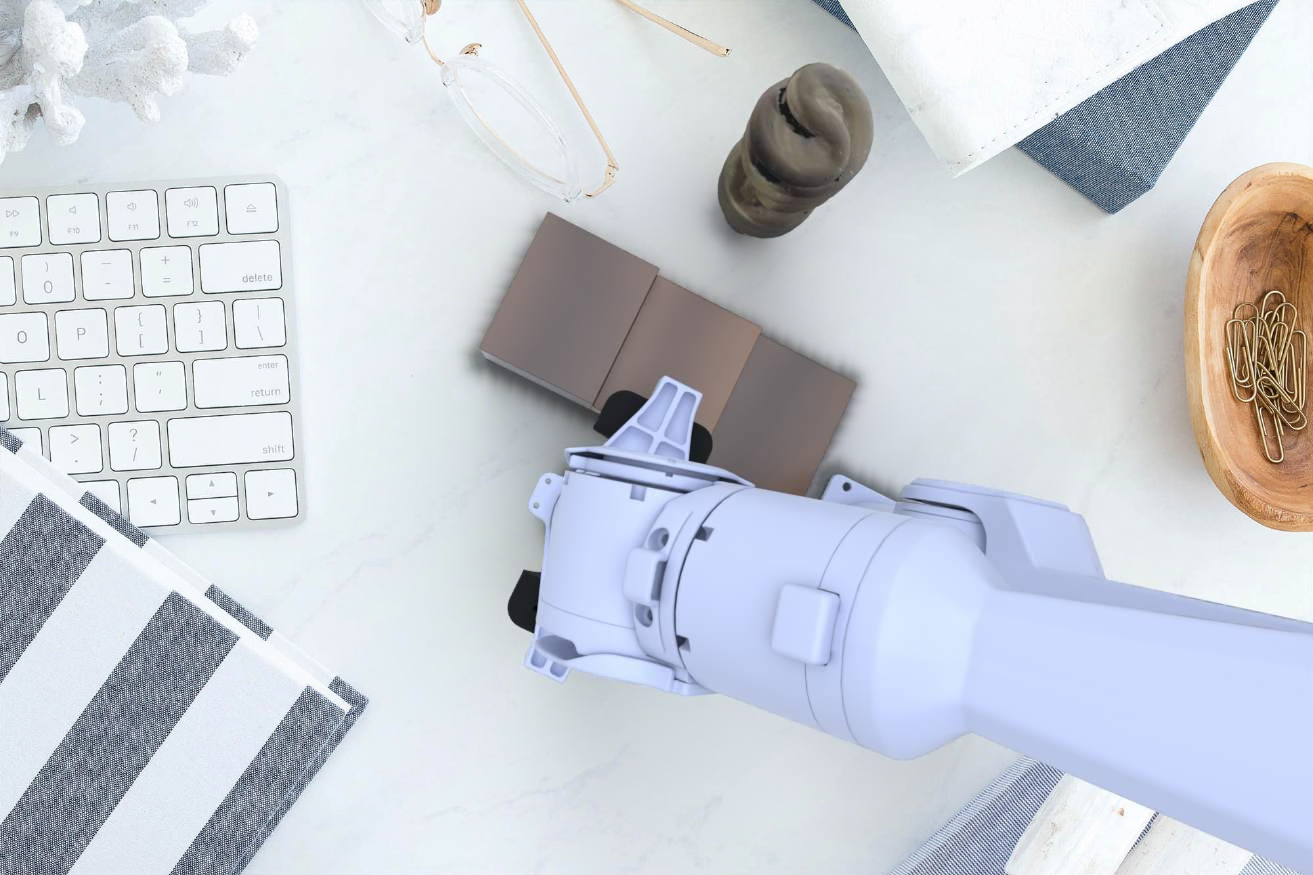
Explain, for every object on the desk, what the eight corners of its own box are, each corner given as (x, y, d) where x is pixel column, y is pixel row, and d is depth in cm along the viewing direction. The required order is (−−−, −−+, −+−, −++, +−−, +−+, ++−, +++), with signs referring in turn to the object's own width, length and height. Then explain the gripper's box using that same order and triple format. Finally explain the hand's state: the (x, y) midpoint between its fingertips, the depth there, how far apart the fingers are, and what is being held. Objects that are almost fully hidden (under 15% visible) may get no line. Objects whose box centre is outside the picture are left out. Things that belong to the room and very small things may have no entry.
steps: (849, 385, 54) (876, 378, 49) (791, 508, 53) (813, 513, 49) (548, 232, 52) (547, 210, 47) (485, 358, 51) (478, 348, 47)
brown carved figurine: (738, 145, 53) (809, 23, 38) (813, 202, 54) (913, 103, 39) (682, 223, 53) (733, 130, 38) (759, 279, 53) (839, 209, 38)
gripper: (611, 331, 37) (596, 365, 50) (449, 659, 36) (478, 604, 50) (765, 408, 38) (709, 421, 51) (610, 733, 37) (595, 658, 50)
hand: (603, 515), depth 50 cm, fingers open, 7 cm apart
